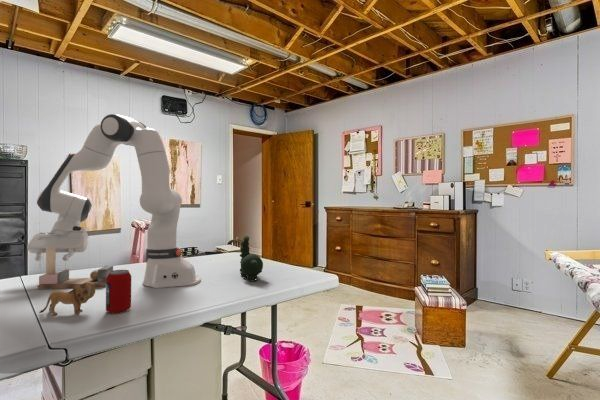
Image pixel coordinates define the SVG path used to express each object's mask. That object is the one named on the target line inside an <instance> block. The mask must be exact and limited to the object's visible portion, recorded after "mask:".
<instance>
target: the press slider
mask: <svg viewBox="0 0 600 400" xmlns="http://www.w3.org/2000/svg"><path fill="white" fill-rule="evenodd" d="M56 255H57V254H56V248H46V253H45V273H43V274H42V275H39V276H38V285H39V284H58V283H62V282H64V281H66V280H68V279H70V269H69V268H67V269H64V270H61V271H56V264H57V263H56V259H57V258H56V257H57V256H56Z"/></svg>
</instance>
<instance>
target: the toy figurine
mask: <svg viewBox="0 0 600 400" xmlns="http://www.w3.org/2000/svg"><path fill="white" fill-rule="evenodd" d="M242 240H243V241H241V243H240V245H241V247H240V248H239V250H240V251H241V253H240V254H239V257H240V262H239V263H240V268H239V272H240V274H241V275H240V274H239V275H240V276H241V277H242V278H246V279H247V281H249V280H255V279H257V280H258V277H259V276H257V275H260V274H261V273H263V268H264V263H263V260H262V258H261V257H260V256H259V255H257V254H251V252H250V250H251V249H250V247H249V245H250V242H249V241H250V237H249V236H248V235H245V236H243V239H242ZM255 281H256V280H255Z"/></svg>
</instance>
